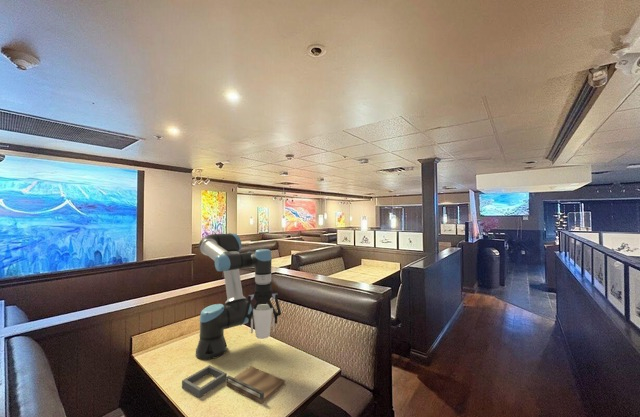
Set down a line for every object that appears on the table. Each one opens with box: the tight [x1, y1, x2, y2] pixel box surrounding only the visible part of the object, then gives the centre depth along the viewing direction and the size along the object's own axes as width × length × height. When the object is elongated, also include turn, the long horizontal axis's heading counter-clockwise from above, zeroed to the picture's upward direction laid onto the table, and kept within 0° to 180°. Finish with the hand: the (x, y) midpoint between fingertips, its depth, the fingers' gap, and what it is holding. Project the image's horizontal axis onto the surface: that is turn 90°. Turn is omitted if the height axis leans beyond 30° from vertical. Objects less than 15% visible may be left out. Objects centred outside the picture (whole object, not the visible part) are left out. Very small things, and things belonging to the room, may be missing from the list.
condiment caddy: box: [181, 365, 228, 399], centre depth 110 cm, size 12×13×3 cm
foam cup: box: [252, 303, 274, 340], centre depth 121 cm, size 10×9×13 cm
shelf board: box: [226, 365, 286, 405], centre depth 110 cm, size 20×14×4 cm
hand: (262, 331), depth 120 cm, fingers closed on foam cup, 9 cm apart
